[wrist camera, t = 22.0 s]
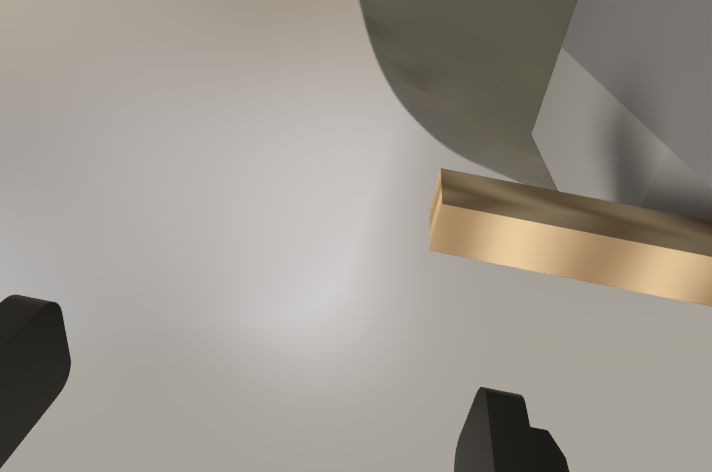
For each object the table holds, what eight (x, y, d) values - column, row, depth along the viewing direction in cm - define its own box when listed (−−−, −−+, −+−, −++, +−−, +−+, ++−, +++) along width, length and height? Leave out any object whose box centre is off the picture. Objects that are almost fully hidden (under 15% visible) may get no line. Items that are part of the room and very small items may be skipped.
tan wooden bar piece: (424, 230, 29) (423, 271, 25) (446, 145, 26) (449, 178, 23) (809, 306, 28) (861, 359, 25) (871, 227, 26) (939, 274, 22)
